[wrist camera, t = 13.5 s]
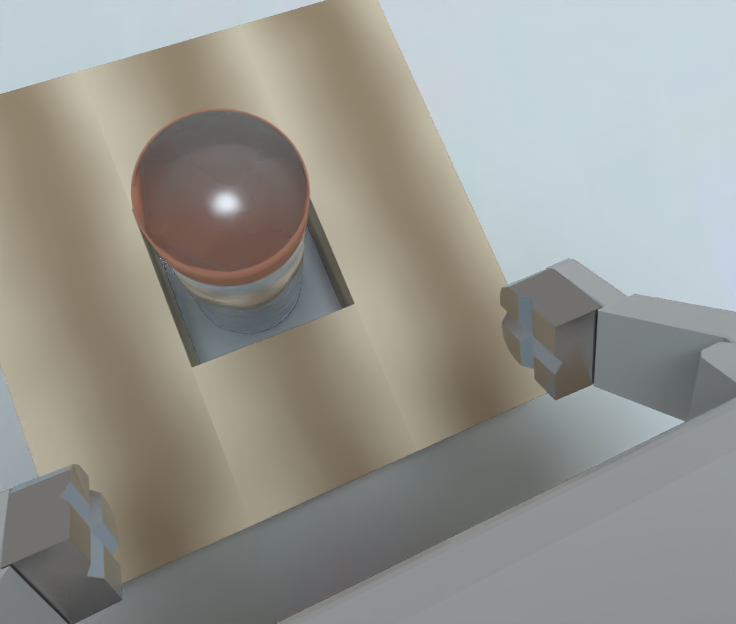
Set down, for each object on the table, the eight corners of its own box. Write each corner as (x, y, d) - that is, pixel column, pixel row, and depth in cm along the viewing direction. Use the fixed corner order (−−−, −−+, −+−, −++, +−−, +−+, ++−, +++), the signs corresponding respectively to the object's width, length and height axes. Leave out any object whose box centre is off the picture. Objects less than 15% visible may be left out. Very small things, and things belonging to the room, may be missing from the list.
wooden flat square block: (110, 577, 21) (80, 602, 18) (-35, 158, 23) (-83, 118, 20) (522, 394, 24) (555, 389, 21) (362, 37, 26) (371, -13, 23)
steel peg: (215, 351, 22) (167, 300, 14) (176, 250, 23) (105, 139, 14) (319, 310, 23) (336, 238, 14) (278, 214, 24) (272, 87, 15)
